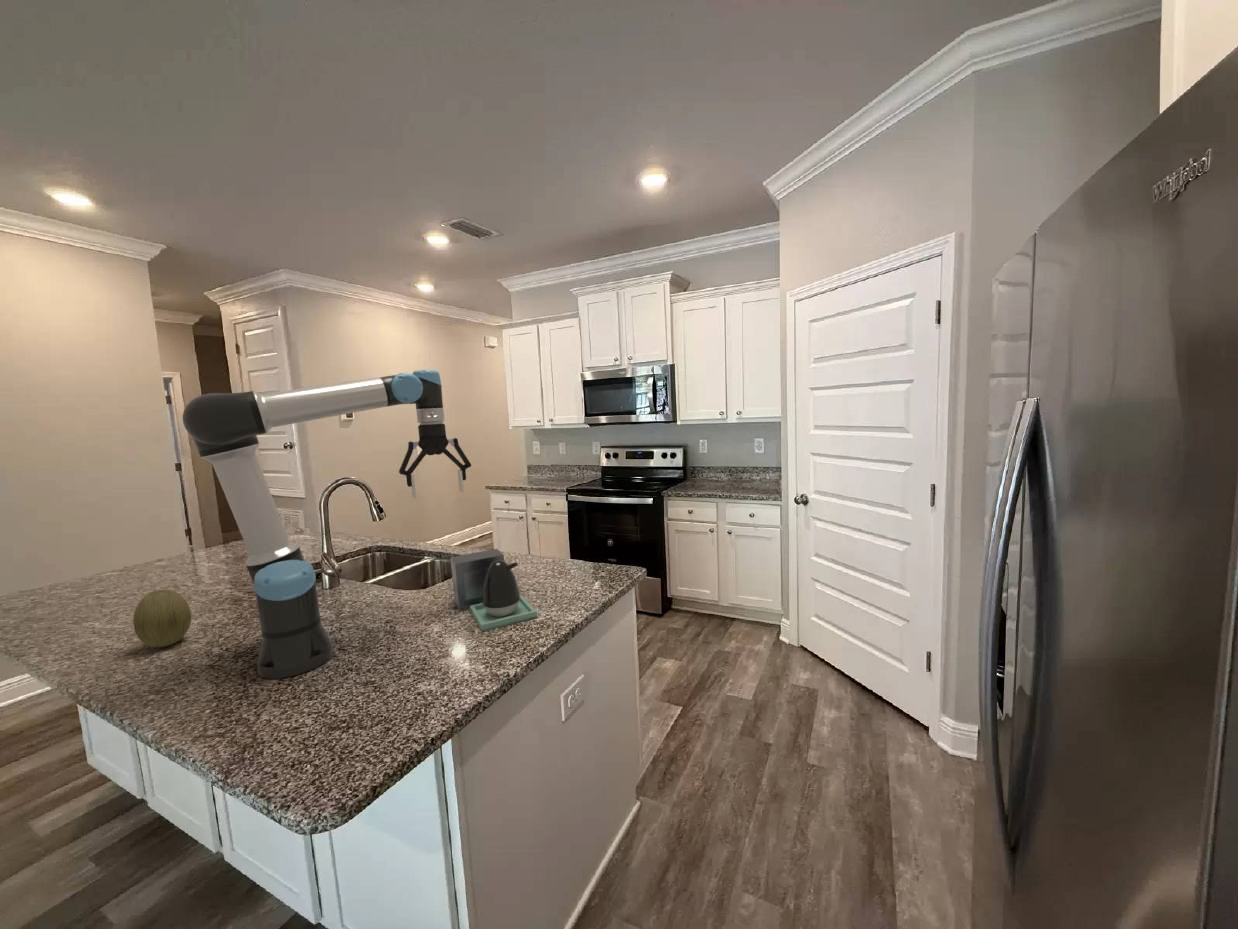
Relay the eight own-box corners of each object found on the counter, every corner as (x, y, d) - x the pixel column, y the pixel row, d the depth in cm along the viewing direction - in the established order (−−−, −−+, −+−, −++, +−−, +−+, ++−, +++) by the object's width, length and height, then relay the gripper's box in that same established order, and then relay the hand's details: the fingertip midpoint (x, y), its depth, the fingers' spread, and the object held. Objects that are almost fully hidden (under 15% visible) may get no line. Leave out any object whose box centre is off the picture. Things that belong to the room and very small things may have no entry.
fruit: (202, 639, 134) (193, 586, 132) (147, 659, 124) (137, 601, 122) (185, 631, 139) (176, 580, 138) (131, 649, 130) (121, 594, 128)
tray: (482, 631, 129) (481, 625, 129) (470, 612, 142) (469, 606, 142) (537, 617, 136) (536, 611, 136) (521, 599, 149) (520, 594, 149)
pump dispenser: (517, 620, 134) (512, 565, 132) (479, 621, 134) (474, 567, 132) (525, 604, 144) (520, 553, 142) (489, 606, 144) (484, 555, 142)
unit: (459, 611, 143) (455, 564, 141) (454, 601, 150) (450, 557, 149) (507, 600, 149) (504, 555, 147) (500, 591, 157) (496, 548, 155)
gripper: (385, 426, 138) (394, 501, 140) (476, 420, 149) (483, 490, 152) (384, 426, 144) (392, 498, 147) (471, 420, 156) (477, 487, 158)
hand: (438, 494), depth 149 cm, fingers open, 13 cm apart
